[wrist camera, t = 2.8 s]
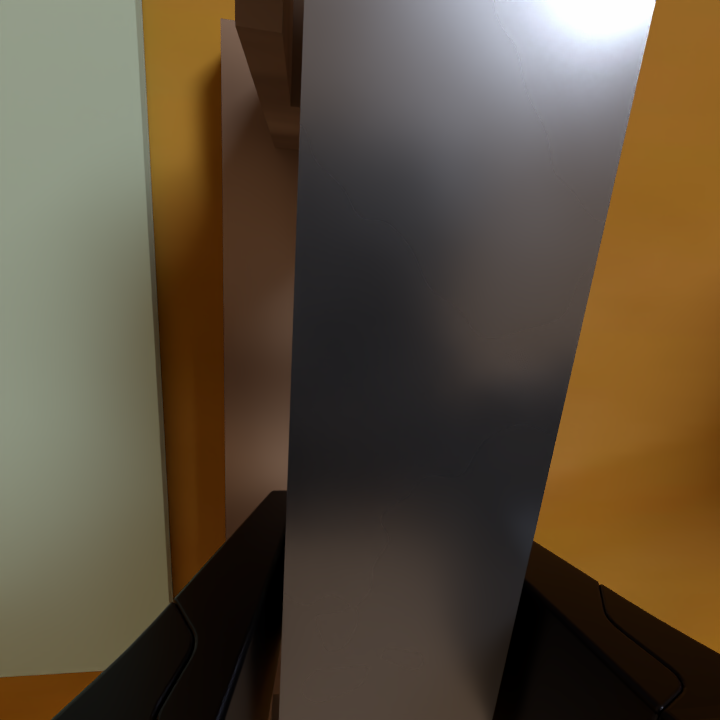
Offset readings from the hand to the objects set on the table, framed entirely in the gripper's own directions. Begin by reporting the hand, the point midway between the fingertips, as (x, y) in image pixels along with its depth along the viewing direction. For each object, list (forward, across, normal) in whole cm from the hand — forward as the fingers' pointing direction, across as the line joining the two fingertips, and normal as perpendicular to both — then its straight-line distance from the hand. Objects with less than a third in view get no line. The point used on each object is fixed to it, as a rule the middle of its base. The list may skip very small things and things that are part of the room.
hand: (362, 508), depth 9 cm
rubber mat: (+8, +11, 0) cm, 13 cm away
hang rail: (0, 0, 0) cm, 0 cm away
